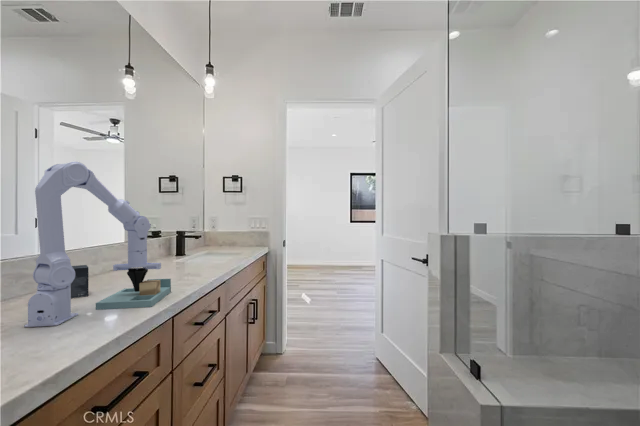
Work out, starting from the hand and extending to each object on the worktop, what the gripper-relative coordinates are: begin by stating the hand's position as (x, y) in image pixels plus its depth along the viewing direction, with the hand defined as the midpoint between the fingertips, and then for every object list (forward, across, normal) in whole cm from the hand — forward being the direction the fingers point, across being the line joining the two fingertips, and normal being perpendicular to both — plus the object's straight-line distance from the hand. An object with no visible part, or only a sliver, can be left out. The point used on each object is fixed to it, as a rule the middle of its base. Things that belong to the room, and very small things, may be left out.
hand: (137, 290), depth 110 cm
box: (+3, +24, -11) cm, 27 cm away
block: (+1, -4, 0) cm, 4 cm away
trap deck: (+3, 0, 0) cm, 3 cm away
